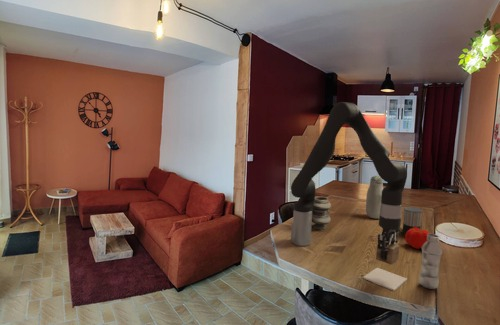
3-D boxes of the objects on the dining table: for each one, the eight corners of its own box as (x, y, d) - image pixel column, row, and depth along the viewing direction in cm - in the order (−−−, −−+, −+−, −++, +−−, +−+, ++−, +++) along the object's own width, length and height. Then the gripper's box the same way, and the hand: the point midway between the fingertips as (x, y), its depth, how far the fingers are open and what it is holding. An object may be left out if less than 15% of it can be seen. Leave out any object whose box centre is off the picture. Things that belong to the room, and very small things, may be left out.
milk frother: (423, 238, 160) (426, 211, 159) (394, 237, 161) (396, 210, 159) (410, 229, 174) (412, 204, 173) (383, 228, 175) (385, 204, 173)
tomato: (435, 252, 142) (437, 234, 141) (408, 250, 145) (409, 232, 144) (426, 243, 153) (428, 227, 152) (401, 241, 155) (403, 225, 154)
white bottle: (362, 216, 197) (365, 175, 193) (373, 215, 201) (376, 174, 198) (374, 221, 188) (377, 177, 184) (385, 219, 192) (388, 176, 189)
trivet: (363, 278, 117) (363, 276, 117) (376, 268, 125) (376, 267, 125) (394, 291, 108) (394, 289, 108) (407, 280, 116) (407, 278, 116)
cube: (375, 259, 115) (376, 244, 115) (382, 255, 119) (383, 240, 119) (391, 264, 111) (392, 249, 110) (398, 260, 115) (399, 245, 114)
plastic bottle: (430, 281, 115) (435, 232, 112) (442, 291, 108) (448, 239, 106) (414, 281, 115) (419, 232, 112) (425, 291, 108) (430, 238, 106)
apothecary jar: (307, 230, 170) (309, 199, 167) (309, 223, 181) (311, 194, 179) (329, 232, 166) (331, 201, 164) (330, 225, 178) (332, 196, 175)
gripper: (388, 209, 121) (385, 249, 123) (371, 216, 111) (369, 259, 113) (407, 213, 115) (404, 254, 117) (392, 221, 105) (389, 266, 108)
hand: (387, 256), depth 115 cm, fingers closed on cube, 6 cm apart
